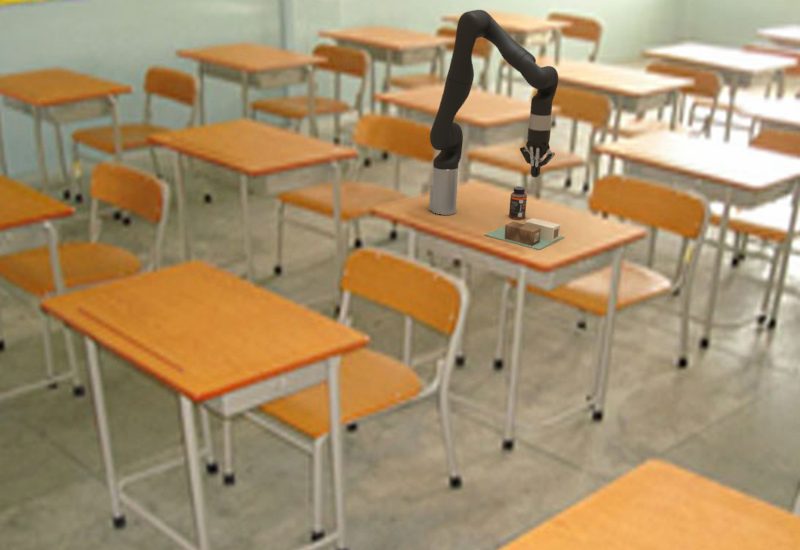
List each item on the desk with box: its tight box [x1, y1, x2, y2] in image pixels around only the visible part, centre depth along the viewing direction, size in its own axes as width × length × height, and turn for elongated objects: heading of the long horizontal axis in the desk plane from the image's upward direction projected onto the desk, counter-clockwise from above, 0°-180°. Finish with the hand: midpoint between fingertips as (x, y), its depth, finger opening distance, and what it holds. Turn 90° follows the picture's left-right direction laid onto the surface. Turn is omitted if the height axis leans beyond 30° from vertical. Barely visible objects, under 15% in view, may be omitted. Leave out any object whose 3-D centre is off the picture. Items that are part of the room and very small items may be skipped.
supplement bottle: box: [508, 186, 528, 220], centre depth 360 cm, size 6×6×11 cm
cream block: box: [524, 217, 561, 242], centre depth 340 cm, size 5×5×11 cm
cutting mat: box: [484, 225, 565, 251], centre depth 341 cm, size 22×17×1 cm
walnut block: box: [504, 221, 541, 246], centre depth 336 cm, size 5×5×11 cm
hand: (535, 176), depth 336 cm, fingers closed
